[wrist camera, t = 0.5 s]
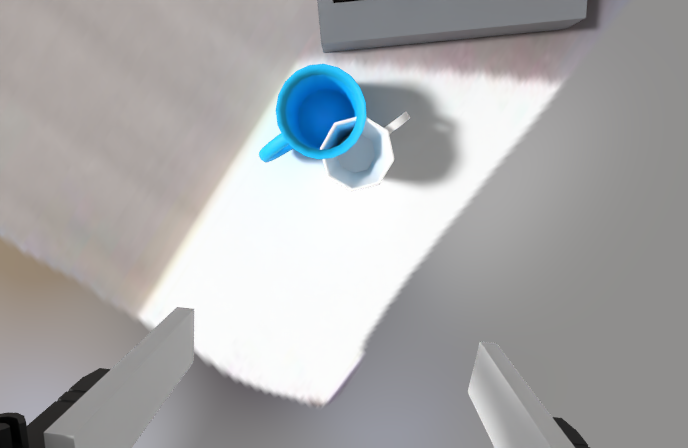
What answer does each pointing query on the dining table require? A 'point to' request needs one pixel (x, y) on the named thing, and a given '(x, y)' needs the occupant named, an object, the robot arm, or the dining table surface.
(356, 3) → the grey board
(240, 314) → the dining table surface
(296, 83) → the mug
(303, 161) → the dining table surface
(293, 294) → the dining table surface
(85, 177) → the dining table surface
